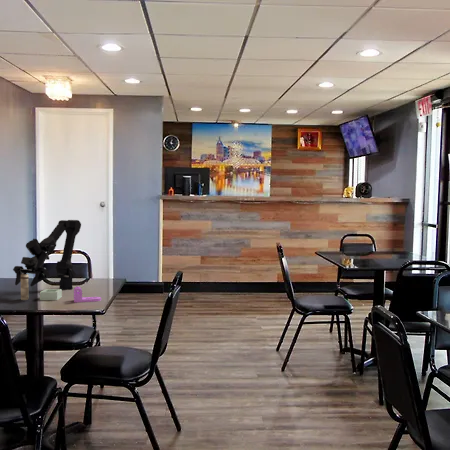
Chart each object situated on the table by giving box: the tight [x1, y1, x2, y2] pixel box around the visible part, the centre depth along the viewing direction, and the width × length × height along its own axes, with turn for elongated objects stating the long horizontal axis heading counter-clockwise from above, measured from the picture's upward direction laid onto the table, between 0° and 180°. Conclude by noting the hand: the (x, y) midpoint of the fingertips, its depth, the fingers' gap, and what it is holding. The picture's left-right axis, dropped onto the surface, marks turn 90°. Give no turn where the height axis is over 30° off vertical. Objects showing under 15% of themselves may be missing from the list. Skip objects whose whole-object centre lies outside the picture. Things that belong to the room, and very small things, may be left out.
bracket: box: [73, 286, 102, 303], centre depth 251 cm, size 13×6×7 cm, turn 108°
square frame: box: [39, 288, 63, 301], centre depth 255 cm, size 8×8×4 cm
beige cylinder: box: [20, 273, 30, 301], centre depth 252 cm, size 4×4×12 cm
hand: (23, 285), depth 251 cm, fingers open, 9 cm apart
